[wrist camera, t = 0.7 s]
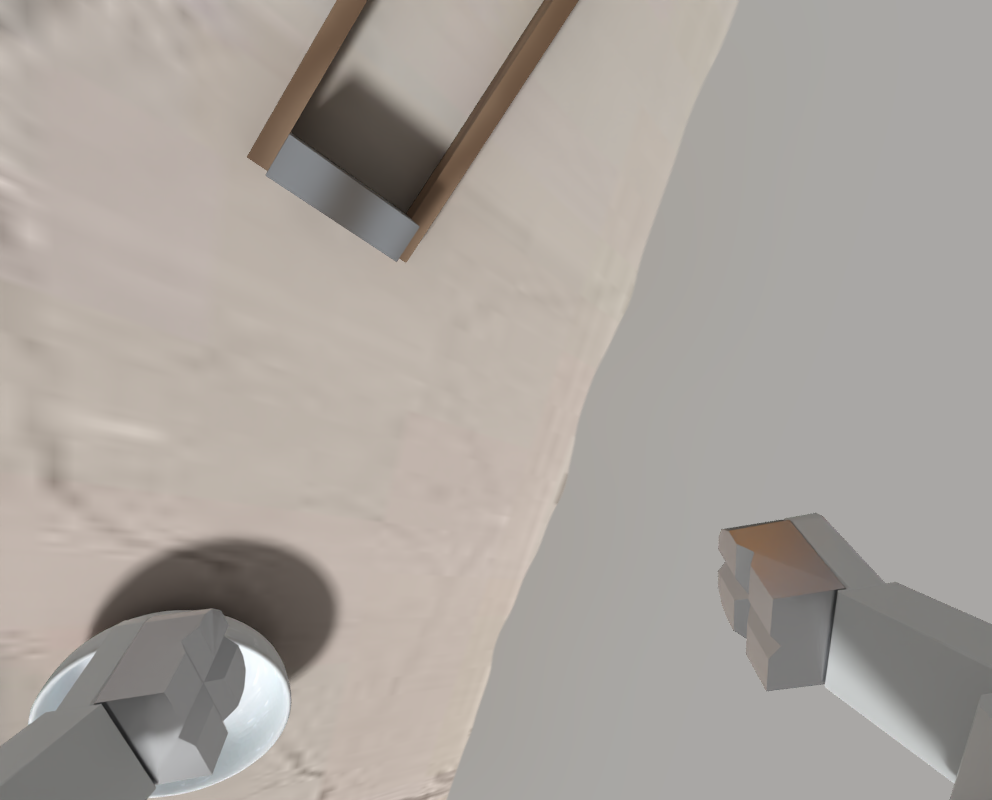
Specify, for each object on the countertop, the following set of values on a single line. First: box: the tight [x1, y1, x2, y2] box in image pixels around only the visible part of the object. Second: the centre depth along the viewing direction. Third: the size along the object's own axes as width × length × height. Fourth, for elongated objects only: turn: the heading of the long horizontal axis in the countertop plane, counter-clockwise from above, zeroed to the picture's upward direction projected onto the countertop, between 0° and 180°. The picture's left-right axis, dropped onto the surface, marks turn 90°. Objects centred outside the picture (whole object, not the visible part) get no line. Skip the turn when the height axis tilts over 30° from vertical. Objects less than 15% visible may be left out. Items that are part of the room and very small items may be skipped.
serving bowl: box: [28, 610, 291, 798], centre depth 56 cm, size 21×21×7 cm
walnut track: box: [247, 0, 579, 263], centre depth 40 cm, size 13×30×6 cm, turn 143°
